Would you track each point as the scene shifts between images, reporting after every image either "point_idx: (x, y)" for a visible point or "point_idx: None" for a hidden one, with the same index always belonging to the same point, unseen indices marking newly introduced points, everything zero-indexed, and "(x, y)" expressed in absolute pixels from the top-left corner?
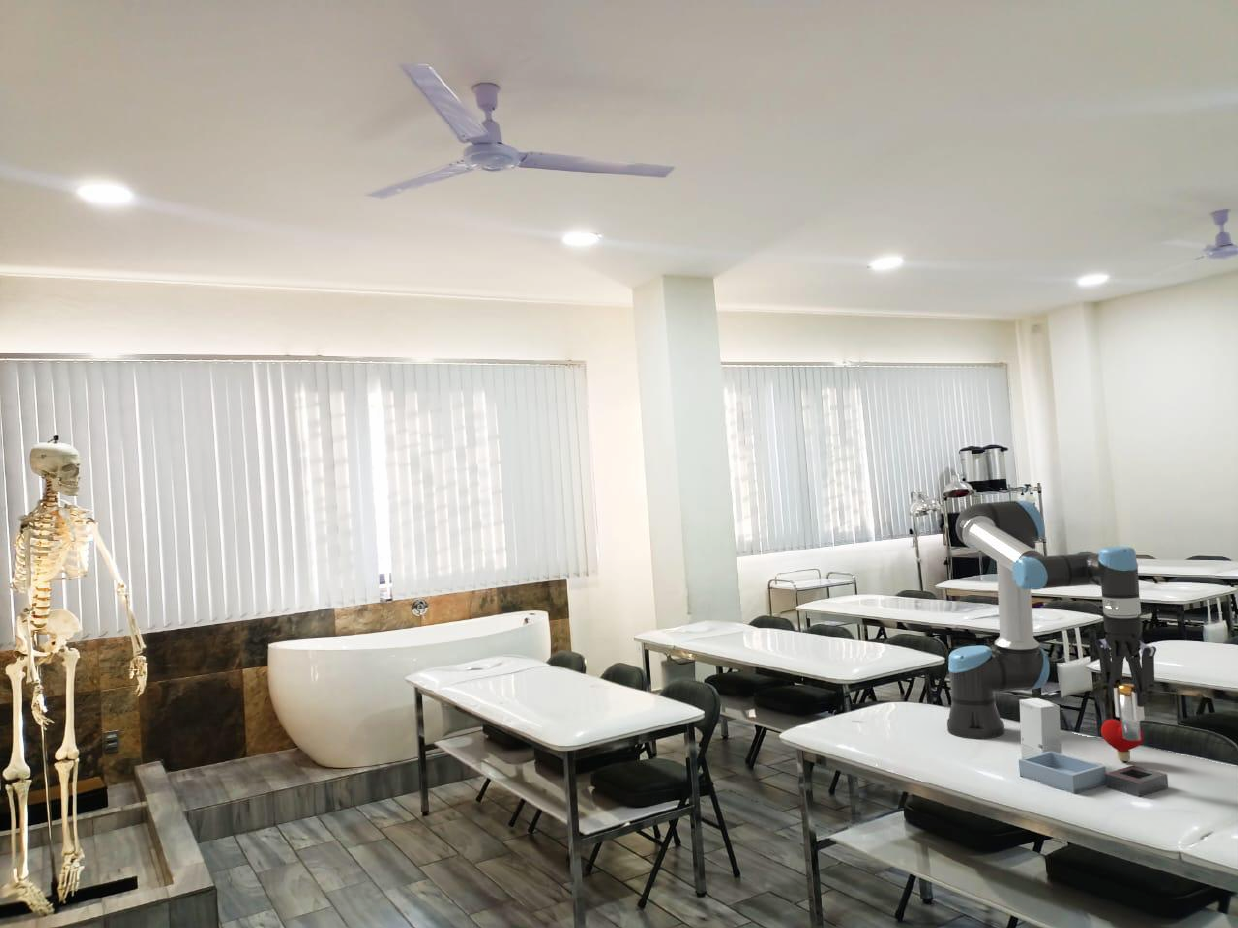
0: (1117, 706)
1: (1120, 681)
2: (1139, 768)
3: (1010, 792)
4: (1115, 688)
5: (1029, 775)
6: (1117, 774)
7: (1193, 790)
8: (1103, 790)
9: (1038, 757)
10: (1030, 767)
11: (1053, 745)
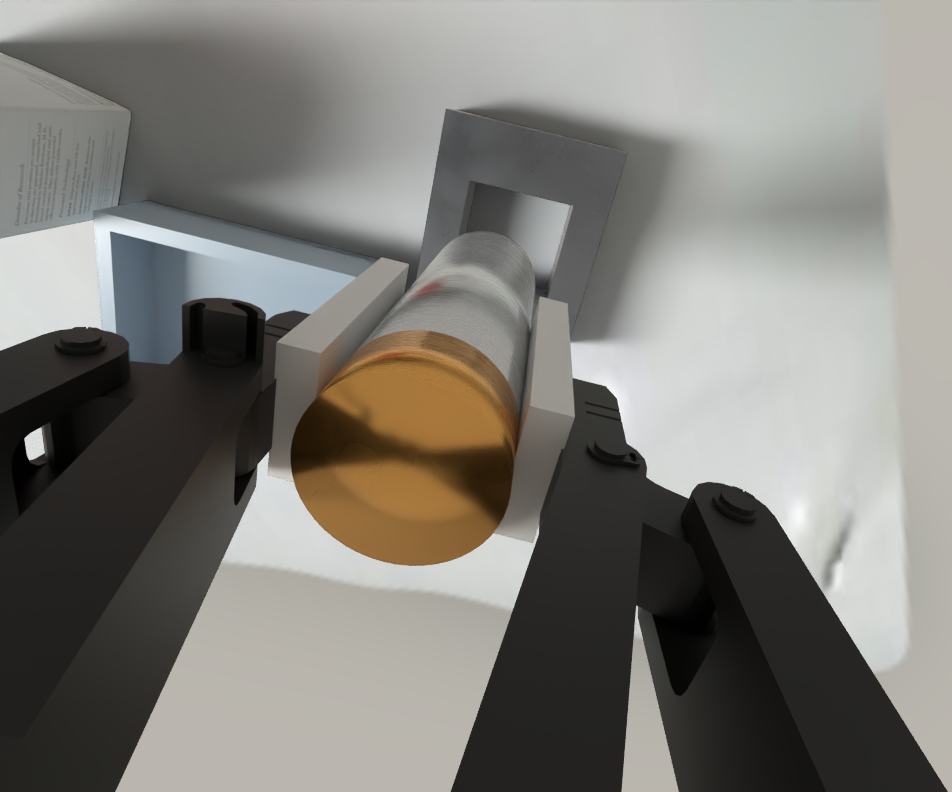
0: None
1: (251, 402)
2: (490, 147)
3: (240, 532)
4: (284, 471)
5: None
6: None
7: (725, 112)
8: None
9: (120, 315)
10: None
11: (61, 162)
